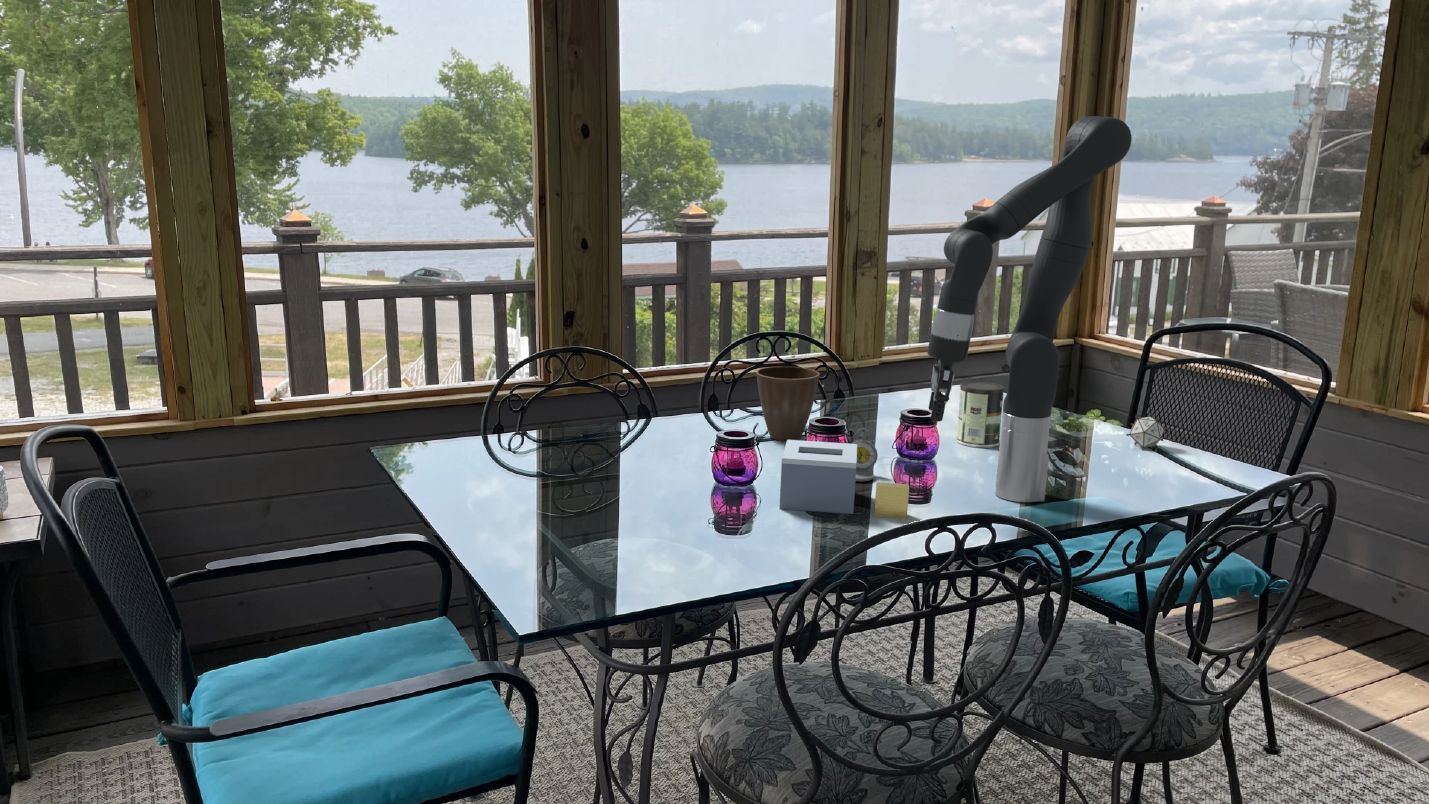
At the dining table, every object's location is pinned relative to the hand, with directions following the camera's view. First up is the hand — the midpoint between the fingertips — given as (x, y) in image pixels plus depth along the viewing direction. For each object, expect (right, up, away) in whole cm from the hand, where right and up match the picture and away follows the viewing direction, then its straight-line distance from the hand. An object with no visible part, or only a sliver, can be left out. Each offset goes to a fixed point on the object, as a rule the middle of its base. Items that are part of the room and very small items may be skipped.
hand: (934, 415), depth 206 cm
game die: (+61, -9, +49) cm, 78 cm away
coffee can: (+20, -7, +49) cm, 53 cm away
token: (-10, -19, -6) cm, 22 cm away
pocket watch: (-12, -13, +18) cm, 25 cm away
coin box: (-23, -17, +1) cm, 28 cm away
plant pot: (-26, -6, +48) cm, 55 cm away
